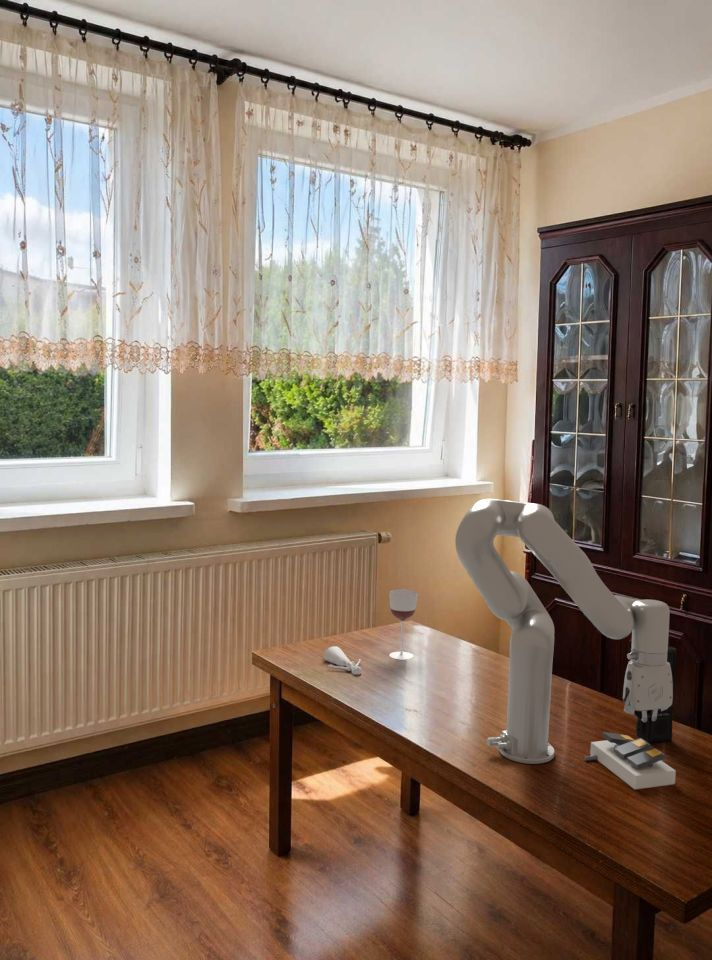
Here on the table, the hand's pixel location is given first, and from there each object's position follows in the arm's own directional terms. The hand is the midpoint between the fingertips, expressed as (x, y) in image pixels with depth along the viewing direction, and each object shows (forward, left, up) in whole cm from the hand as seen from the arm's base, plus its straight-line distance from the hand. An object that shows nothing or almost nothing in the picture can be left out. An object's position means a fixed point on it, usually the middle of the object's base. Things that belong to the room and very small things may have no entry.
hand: (644, 736), depth 186 cm
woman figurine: (-47, +79, -8) cm, 92 cm away
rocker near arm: (-3, +5, -4) cm, 7 cm away
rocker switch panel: (-4, 0, -7) cm, 9 cm away
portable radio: (+12, +13, -8) cm, 20 cm away
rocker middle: (-3, 0, -4) cm, 5 cm away
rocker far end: (-3, -5, -4) cm, 7 cm away
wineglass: (-27, +84, -8) cm, 89 cm away
